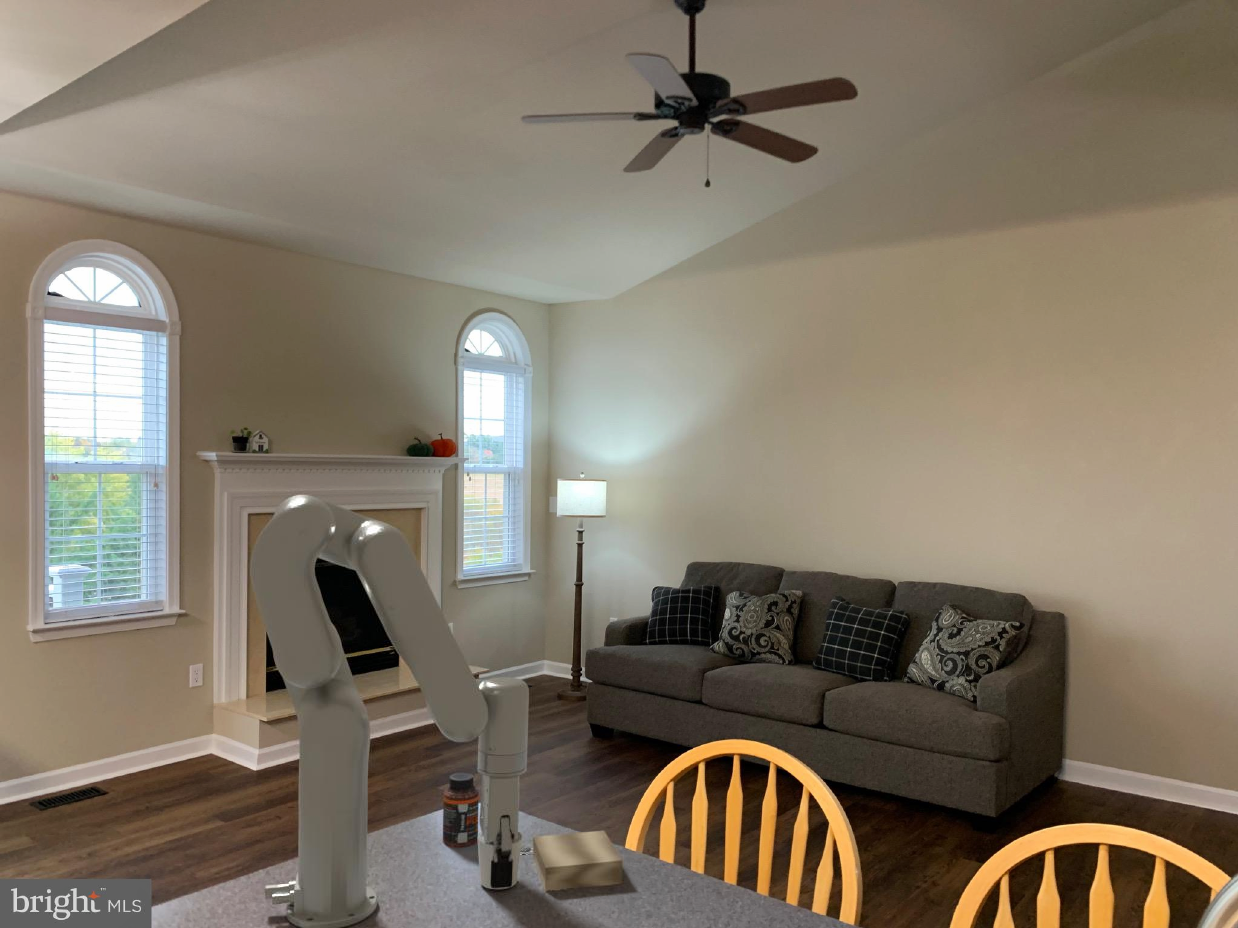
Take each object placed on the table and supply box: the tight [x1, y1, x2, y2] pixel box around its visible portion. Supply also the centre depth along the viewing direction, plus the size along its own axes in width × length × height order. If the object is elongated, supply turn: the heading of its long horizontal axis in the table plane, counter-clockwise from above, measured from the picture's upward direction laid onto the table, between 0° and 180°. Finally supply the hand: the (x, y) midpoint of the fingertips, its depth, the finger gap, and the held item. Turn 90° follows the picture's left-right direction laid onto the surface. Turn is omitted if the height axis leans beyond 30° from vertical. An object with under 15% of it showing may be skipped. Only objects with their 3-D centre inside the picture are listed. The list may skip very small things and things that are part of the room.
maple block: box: [532, 830, 623, 892], centre depth 150 cm, size 12×12×4 cm
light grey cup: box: [477, 831, 523, 890], centre depth 145 cm, size 7×7×7 cm
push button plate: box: [520, 845, 533, 856], centre depth 157 cm, size 6×4×1 cm, turn 104°
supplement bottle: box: [442, 772, 480, 848], centre depth 161 cm, size 6×6×11 cm
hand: (498, 876), depth 145 cm, fingers closed on light grey cup, 5 cm apart
